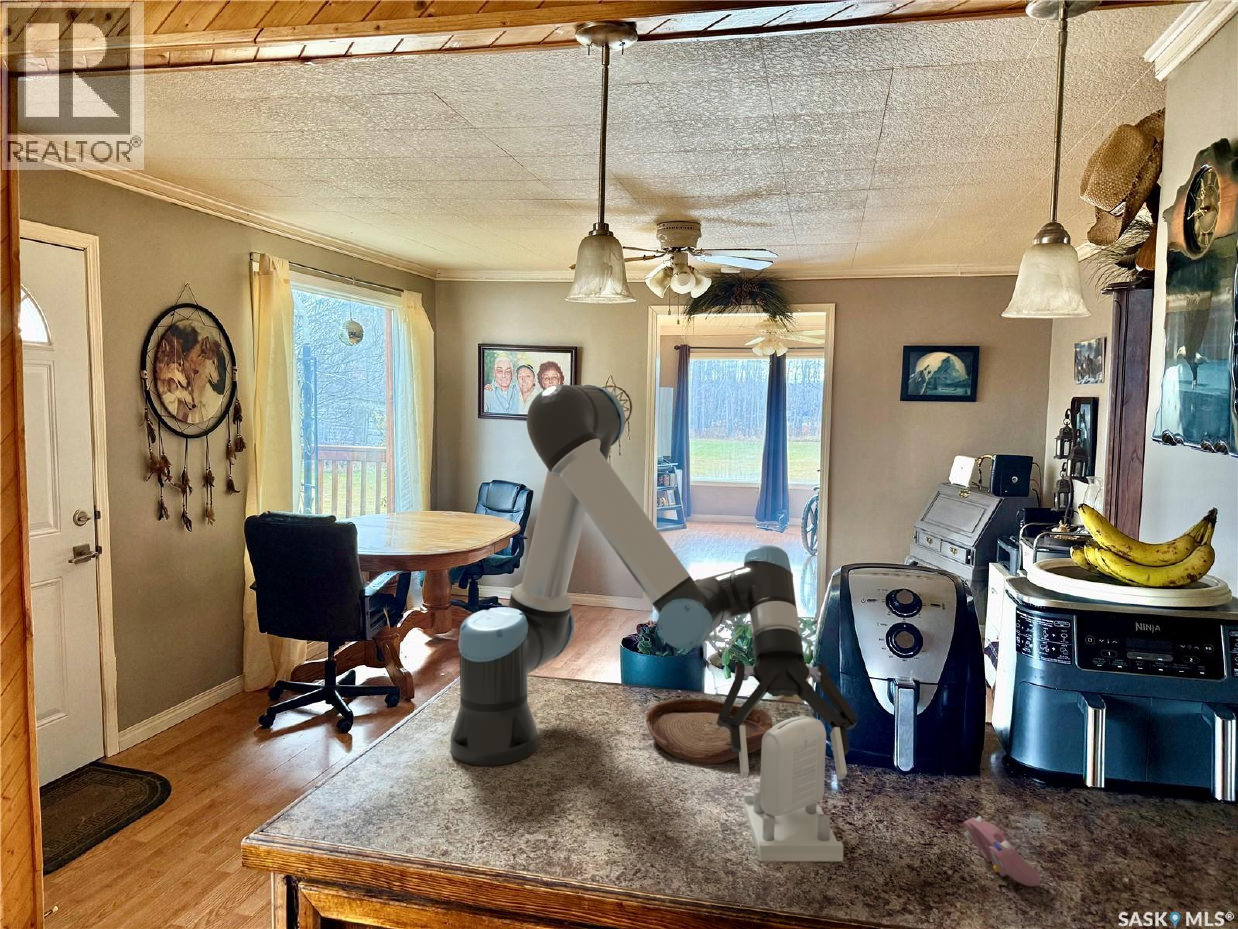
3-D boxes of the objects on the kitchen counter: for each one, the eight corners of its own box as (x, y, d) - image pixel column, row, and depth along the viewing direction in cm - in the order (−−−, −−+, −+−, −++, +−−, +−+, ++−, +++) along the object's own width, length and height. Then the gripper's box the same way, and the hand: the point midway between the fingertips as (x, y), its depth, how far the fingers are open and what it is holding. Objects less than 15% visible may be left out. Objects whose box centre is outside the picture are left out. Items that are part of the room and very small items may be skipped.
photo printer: (805, 787, 116) (808, 706, 115) (828, 800, 112) (831, 716, 111) (754, 807, 110) (756, 722, 109) (776, 821, 107) (779, 734, 106)
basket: (635, 759, 134) (635, 731, 134) (657, 712, 154) (657, 688, 153) (769, 774, 129) (769, 745, 129) (774, 724, 149) (775, 699, 148)
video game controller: (970, 857, 109) (951, 815, 108) (999, 841, 109) (980, 799, 108) (1015, 903, 99) (994, 857, 98) (1046, 885, 99) (1025, 839, 98)
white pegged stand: (743, 806, 119) (743, 779, 118) (815, 806, 119) (816, 779, 118) (760, 861, 105) (761, 831, 104) (842, 861, 105) (843, 831, 104)
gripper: (850, 649, 126) (875, 785, 113) (695, 646, 126) (702, 782, 113) (861, 627, 120) (890, 768, 107) (699, 624, 121) (707, 765, 107)
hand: (793, 776), depth 110 cm, fingers open, 13 cm apart
